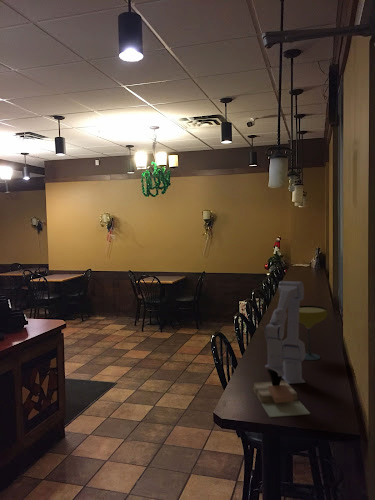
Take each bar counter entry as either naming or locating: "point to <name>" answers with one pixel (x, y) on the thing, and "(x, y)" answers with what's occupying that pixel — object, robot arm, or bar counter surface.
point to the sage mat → (285, 409)
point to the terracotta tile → (280, 393)
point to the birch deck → (264, 394)
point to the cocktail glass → (311, 323)
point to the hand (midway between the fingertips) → (275, 387)
